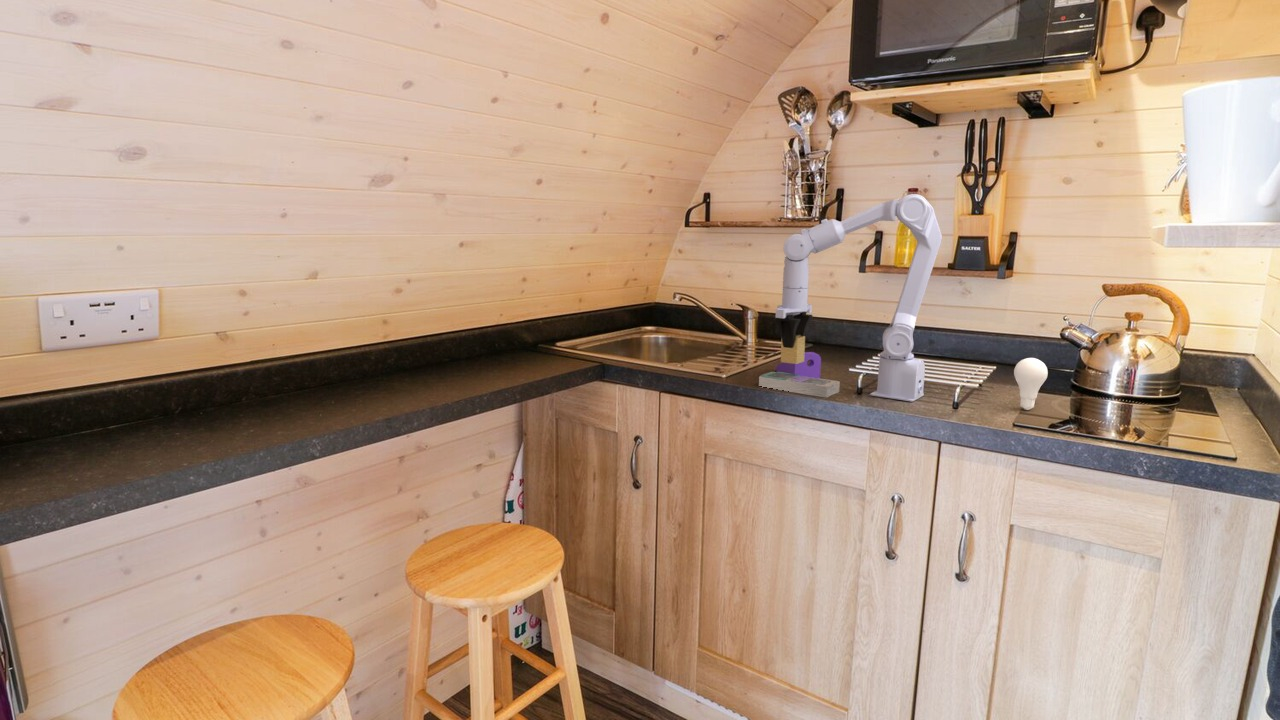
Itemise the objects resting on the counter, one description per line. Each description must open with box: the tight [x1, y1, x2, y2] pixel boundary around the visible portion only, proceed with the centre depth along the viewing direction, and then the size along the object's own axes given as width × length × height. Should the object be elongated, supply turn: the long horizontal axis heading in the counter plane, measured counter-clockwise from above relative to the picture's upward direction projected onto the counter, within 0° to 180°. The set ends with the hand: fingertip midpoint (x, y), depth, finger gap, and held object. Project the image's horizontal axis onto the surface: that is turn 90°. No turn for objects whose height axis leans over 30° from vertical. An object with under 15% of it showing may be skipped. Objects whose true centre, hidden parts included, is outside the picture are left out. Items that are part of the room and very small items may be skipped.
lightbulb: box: [1013, 357, 1049, 411], centre depth 147 cm, size 6×6×11 cm
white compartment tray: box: [758, 371, 841, 399], centre depth 166 cm, size 17×7×3 cm, turn 51°
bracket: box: [775, 351, 822, 379], centre depth 182 cm, size 12×7×7 cm, turn 11°
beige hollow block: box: [780, 334, 806, 364], centre depth 165 cm, size 4×4×6 cm
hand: (792, 346), depth 165 cm, fingers closed on beige hollow block, 4 cm apart
